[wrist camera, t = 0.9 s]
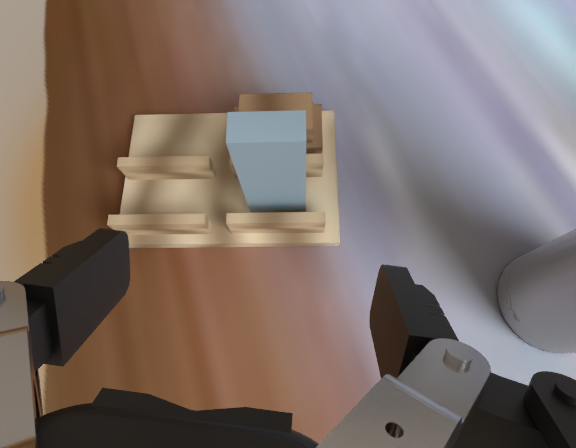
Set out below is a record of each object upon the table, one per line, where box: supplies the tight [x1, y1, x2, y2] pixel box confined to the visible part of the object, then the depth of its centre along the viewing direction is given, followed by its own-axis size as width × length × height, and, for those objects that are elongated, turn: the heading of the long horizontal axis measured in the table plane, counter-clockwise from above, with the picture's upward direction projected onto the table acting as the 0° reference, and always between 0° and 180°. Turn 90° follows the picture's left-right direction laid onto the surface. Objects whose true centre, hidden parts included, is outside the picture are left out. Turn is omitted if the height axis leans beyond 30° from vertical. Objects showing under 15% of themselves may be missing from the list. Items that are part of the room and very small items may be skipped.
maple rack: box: [107, 110, 340, 248], centre depth 40 cm, size 22×15×4 cm
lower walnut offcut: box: [234, 104, 323, 154], centre depth 40 cm, size 9×5×2 cm, turn 90°
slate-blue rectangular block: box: [226, 110, 306, 212], centre depth 33 cm, size 6×2×13 cm, turn 90°
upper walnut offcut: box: [239, 93, 313, 143], centre depth 38 cm, size 7×4×2 cm, turn 90°
